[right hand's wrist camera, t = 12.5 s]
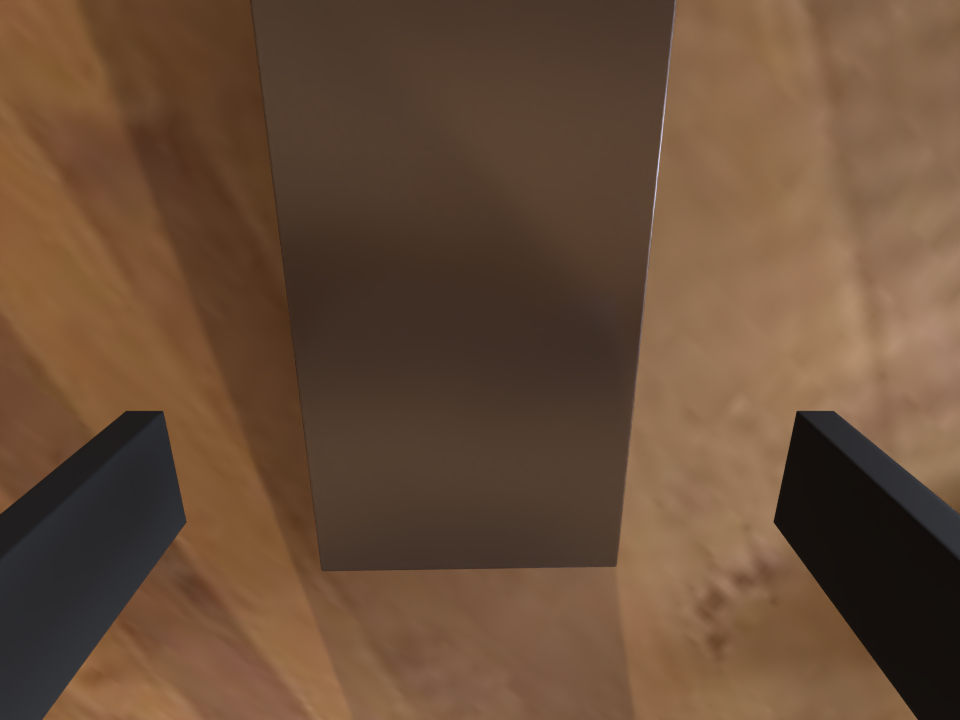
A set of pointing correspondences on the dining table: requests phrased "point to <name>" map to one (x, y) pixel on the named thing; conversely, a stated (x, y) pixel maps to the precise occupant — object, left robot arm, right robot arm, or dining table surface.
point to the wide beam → (465, 267)
